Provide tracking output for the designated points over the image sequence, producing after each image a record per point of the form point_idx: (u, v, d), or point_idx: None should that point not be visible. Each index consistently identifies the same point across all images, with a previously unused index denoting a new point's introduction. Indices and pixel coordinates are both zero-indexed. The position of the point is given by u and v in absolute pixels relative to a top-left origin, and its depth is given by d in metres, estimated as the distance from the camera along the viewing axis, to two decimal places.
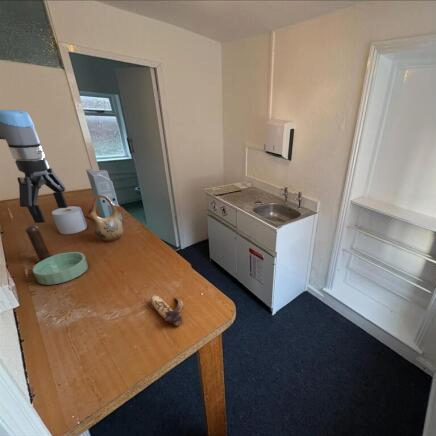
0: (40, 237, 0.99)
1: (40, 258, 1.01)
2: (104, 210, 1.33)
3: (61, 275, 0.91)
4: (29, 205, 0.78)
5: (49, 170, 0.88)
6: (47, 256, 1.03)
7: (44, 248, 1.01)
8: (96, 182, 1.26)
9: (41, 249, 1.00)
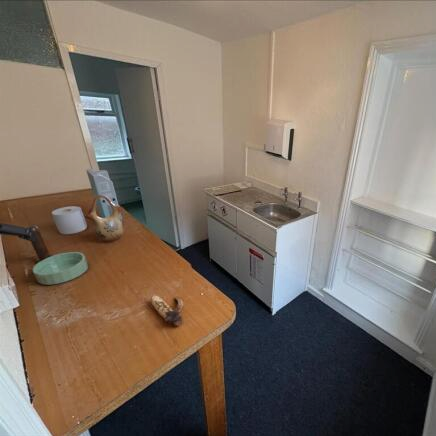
0: (40, 237, 0.99)
1: (40, 258, 1.01)
2: (104, 210, 1.33)
3: (61, 275, 0.91)
4: None
5: None
6: (47, 256, 1.03)
7: (44, 248, 1.01)
8: (96, 182, 1.26)
9: (41, 249, 1.00)
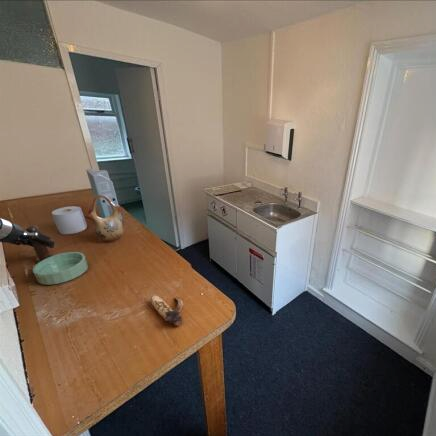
0: None
1: (40, 258, 1.01)
2: (104, 210, 1.33)
3: (61, 275, 0.91)
4: None
5: (33, 236, 0.91)
6: (47, 256, 1.03)
7: (44, 248, 1.01)
8: (96, 182, 1.26)
9: (41, 249, 1.00)
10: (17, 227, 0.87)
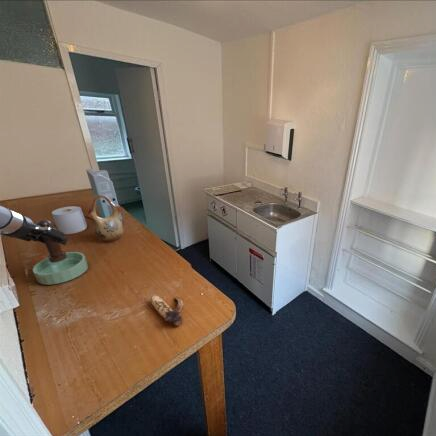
0: None
1: (52, 256, 0.92)
2: (104, 210, 1.33)
3: (61, 275, 0.91)
4: None
5: (45, 230, 0.82)
6: (59, 253, 0.93)
7: (56, 245, 0.92)
8: (96, 182, 1.26)
9: (53, 246, 0.91)
10: (28, 220, 0.77)
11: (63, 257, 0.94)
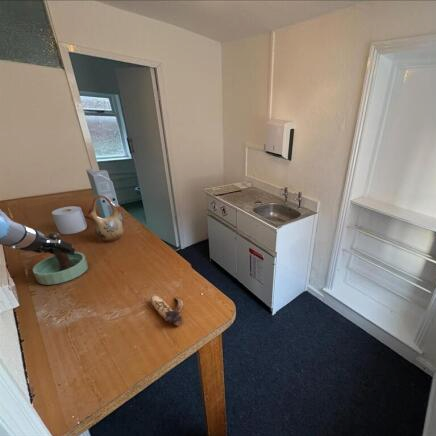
0: None
1: (61, 266, 0.96)
2: (104, 210, 1.33)
3: (61, 275, 0.91)
4: None
5: (56, 243, 0.86)
6: (68, 264, 0.98)
7: (65, 255, 0.96)
8: (96, 182, 1.26)
9: (62, 257, 0.95)
10: (40, 234, 0.82)
11: None
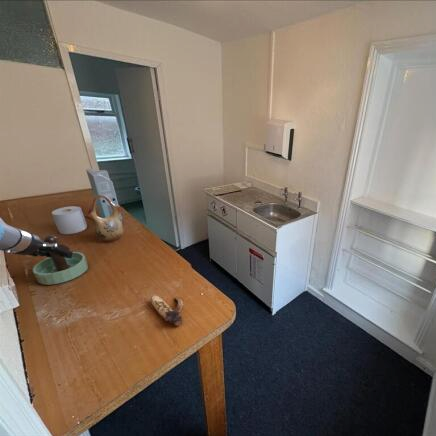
0: None
1: (58, 269, 0.95)
2: (104, 210, 1.33)
3: (61, 275, 0.91)
4: None
5: (52, 247, 0.84)
6: (65, 267, 0.96)
7: (62, 259, 0.94)
8: (96, 182, 1.26)
9: (59, 260, 0.94)
10: (36, 238, 0.80)
11: None
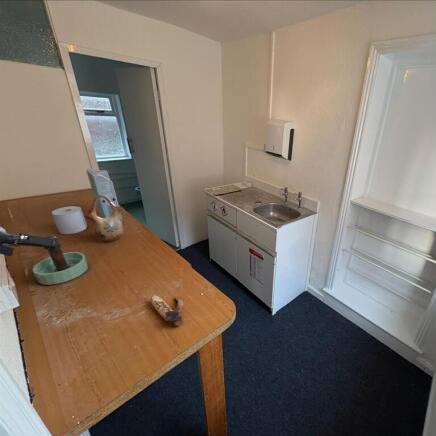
0: None
1: (58, 269, 0.95)
2: (104, 210, 1.33)
3: (61, 275, 0.91)
4: None
5: None
6: (65, 267, 0.96)
7: (62, 259, 0.94)
8: (96, 182, 1.26)
9: (59, 260, 0.94)
10: (0, 230, 0.67)
11: None
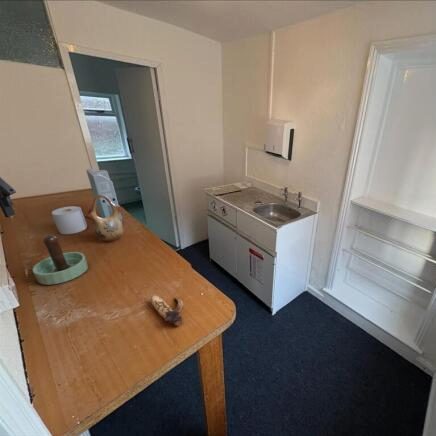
0: (58, 247, 0.93)
1: (58, 269, 0.95)
2: (104, 210, 1.33)
3: (61, 275, 0.91)
4: None
5: None
6: (65, 267, 0.96)
7: (62, 259, 0.94)
8: (96, 182, 1.26)
9: (59, 260, 0.94)
10: None
11: None
